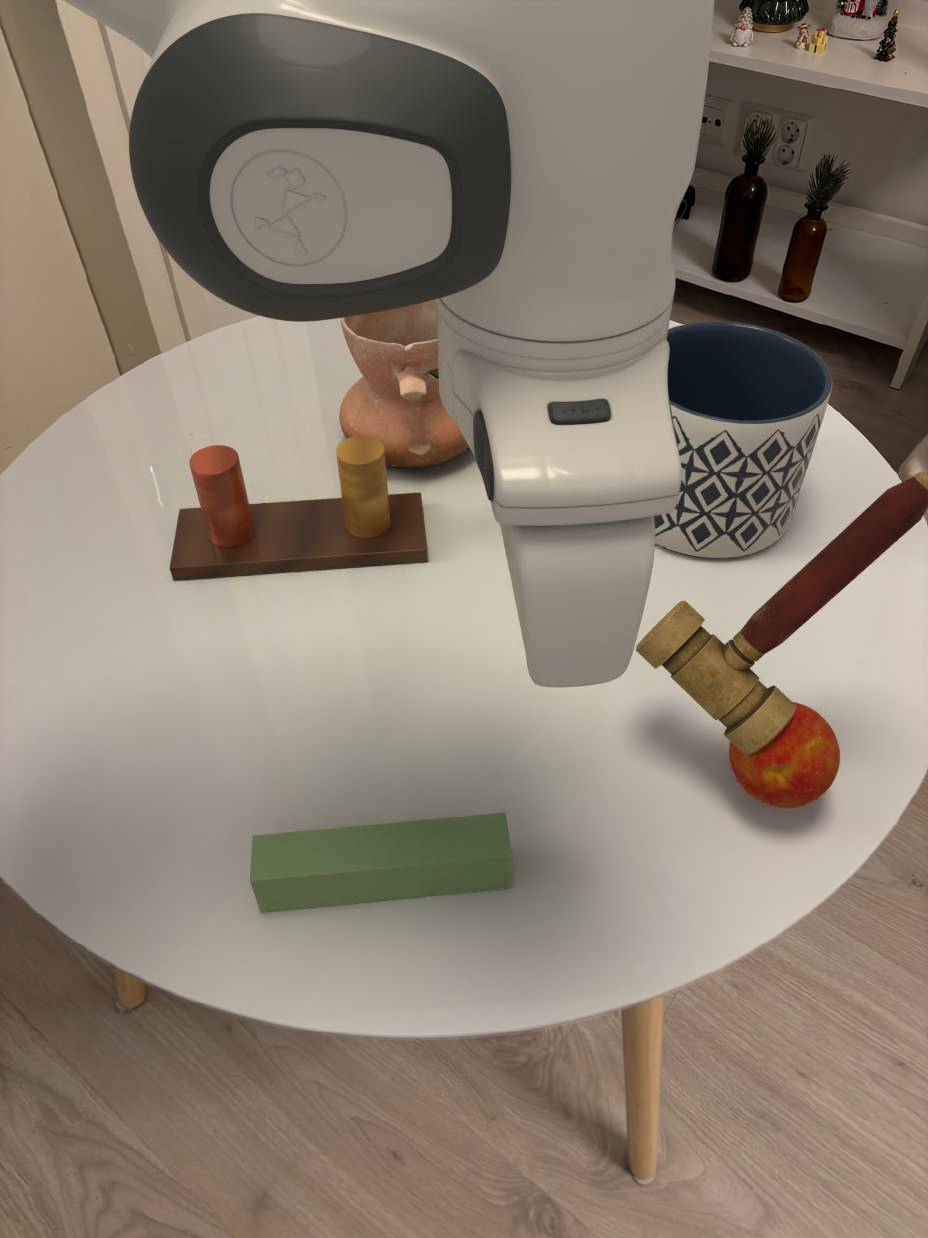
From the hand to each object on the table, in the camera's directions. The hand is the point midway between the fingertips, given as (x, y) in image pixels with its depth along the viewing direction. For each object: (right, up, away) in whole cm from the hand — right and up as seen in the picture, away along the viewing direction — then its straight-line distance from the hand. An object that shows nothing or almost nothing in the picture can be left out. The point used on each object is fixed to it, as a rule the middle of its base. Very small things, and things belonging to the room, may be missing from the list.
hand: (533, 602), depth 47 cm
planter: (+19, +10, +41) cm, 46 cm away
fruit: (+16, -11, +12) cm, 23 cm away
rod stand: (-18, +6, +37) cm, 42 cm away
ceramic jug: (-9, +18, +49) cm, 52 cm away
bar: (-9, -18, +14) cm, 24 cm away
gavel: (+17, 0, +9) cm, 19 cm away
